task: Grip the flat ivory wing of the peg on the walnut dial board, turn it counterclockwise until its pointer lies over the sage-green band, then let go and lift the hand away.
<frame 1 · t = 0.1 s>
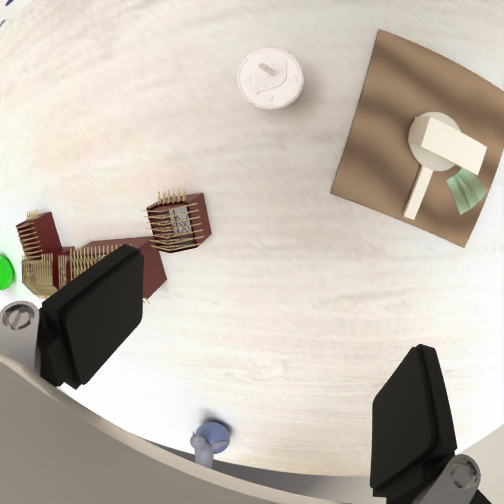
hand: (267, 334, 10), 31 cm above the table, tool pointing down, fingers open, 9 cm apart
dial board: (430, 139, 31), on the table
toy houses: (108, 246, 52), on the table
smoothie: (285, 87, 34), on the table
seal: (216, 419, 65), on the table
peg knob: (435, 170, 28), point 5 cm above the table, hinge at 0.0°
plastic bottle: (9, 266, 66), on the table
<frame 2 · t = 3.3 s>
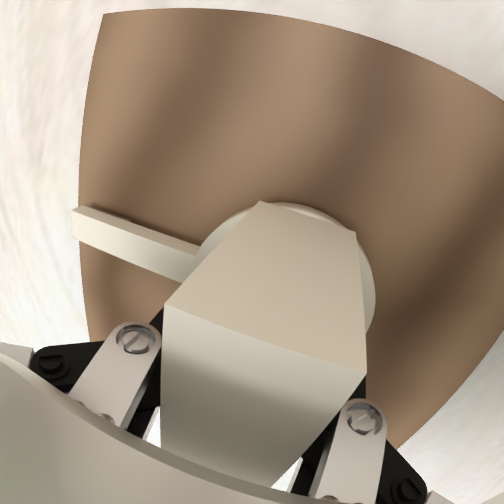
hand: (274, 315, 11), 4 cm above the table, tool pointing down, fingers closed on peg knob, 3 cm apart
dial board: (290, 269, 14), on the table
peg knob: (165, 311, 9), point 5 cm above the table, hinge at 0.0°, touching gripper
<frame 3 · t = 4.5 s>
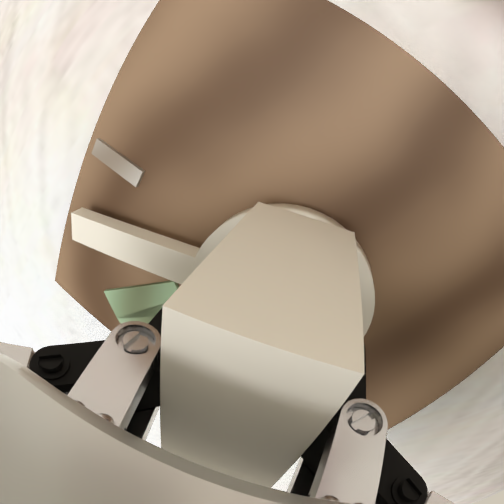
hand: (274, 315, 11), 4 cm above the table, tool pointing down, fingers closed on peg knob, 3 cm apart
dial board: (290, 270, 14), on the table
peg knob: (165, 312, 9), point 5 cm above the table, hinge at 20.2°, touching gripper
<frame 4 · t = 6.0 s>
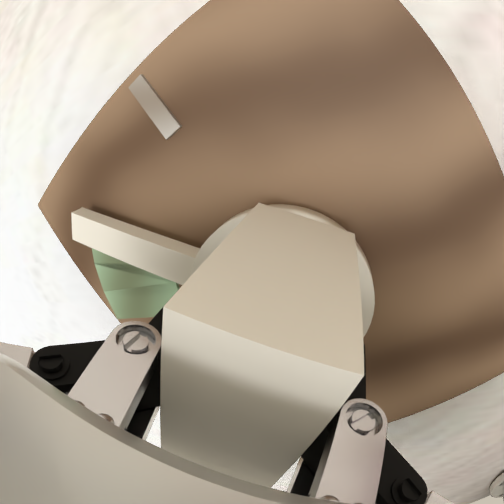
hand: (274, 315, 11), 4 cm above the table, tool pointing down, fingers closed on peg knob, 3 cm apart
dial board: (290, 270, 14), on the table
peg knob: (165, 313, 9), point 5 cm above the table, hinge at 40.0°, touching gripper
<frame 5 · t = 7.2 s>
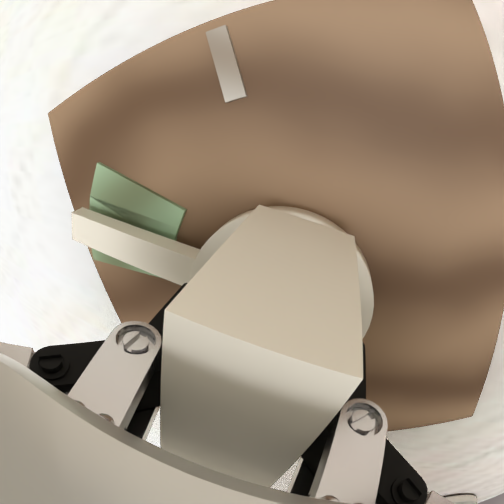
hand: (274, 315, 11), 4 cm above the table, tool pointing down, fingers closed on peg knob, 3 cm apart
dial board: (289, 272, 14), on the table
peg knob: (165, 314, 9), point 5 cm above the table, hinge at 61.5°, touching gripper
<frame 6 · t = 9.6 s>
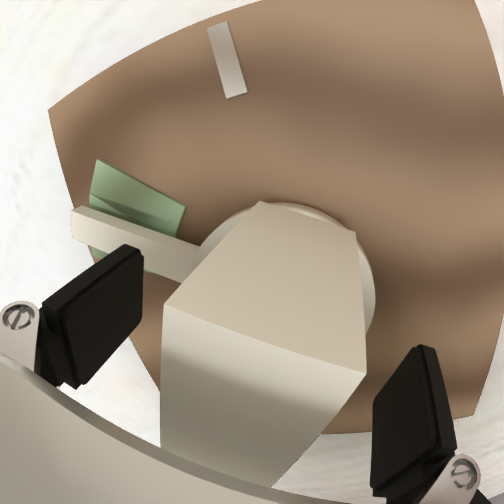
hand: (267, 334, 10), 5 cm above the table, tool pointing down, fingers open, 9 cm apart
dial board: (290, 269, 14), on the table
peg knob: (164, 311, 9), point 5 cm above the table, hinge at 61.8°
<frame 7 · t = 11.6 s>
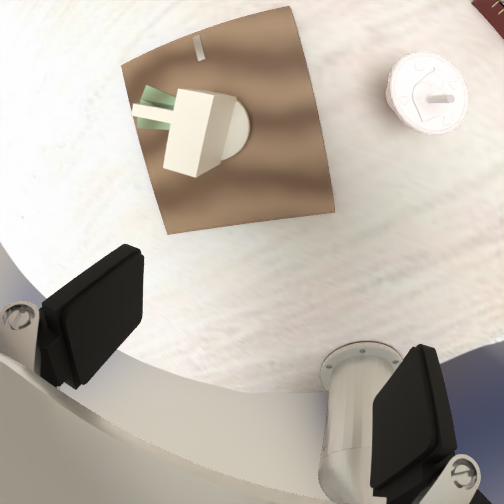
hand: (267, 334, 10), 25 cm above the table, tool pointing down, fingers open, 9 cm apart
dial board: (222, 125, 31), on the table
smoothie: (402, 96, 25), on the table
peg knob: (172, 121, 27), point 5 cm above the table, hinge at 61.9°
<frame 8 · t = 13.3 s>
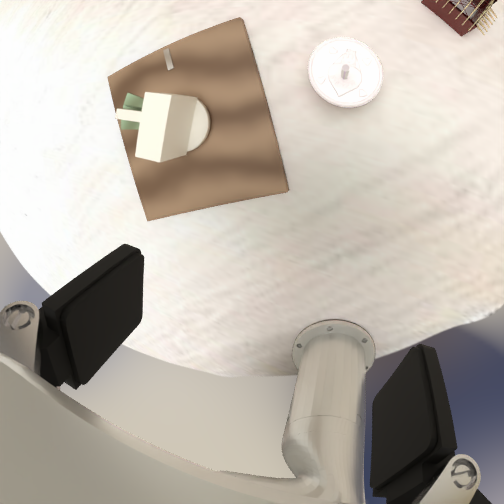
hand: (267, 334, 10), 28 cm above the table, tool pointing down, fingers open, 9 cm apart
dial board: (190, 123, 36), on the table
smoothie: (343, 84, 30), on the table
peg knob: (145, 120, 31), point 5 cm above the table, hinge at 61.9°
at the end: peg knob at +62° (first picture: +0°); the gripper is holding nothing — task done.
